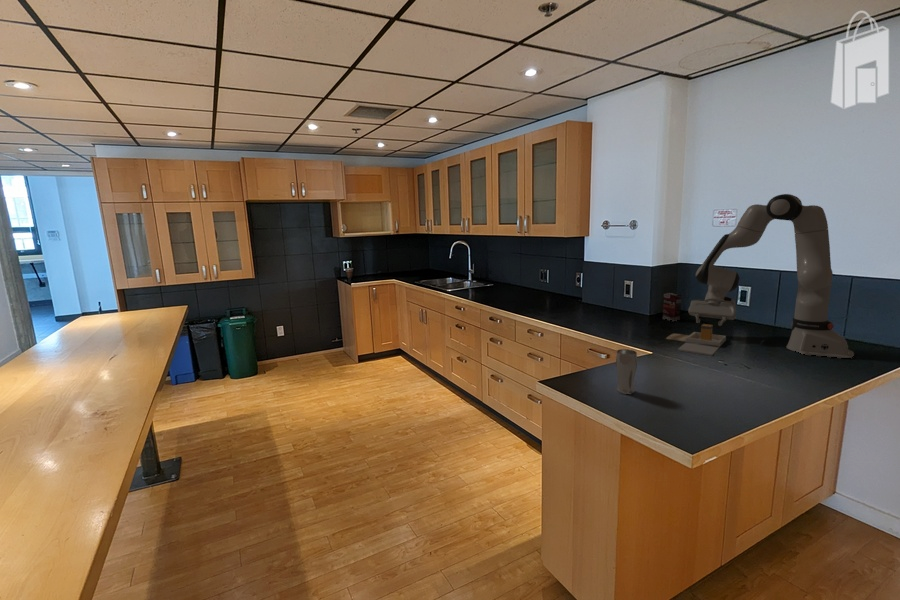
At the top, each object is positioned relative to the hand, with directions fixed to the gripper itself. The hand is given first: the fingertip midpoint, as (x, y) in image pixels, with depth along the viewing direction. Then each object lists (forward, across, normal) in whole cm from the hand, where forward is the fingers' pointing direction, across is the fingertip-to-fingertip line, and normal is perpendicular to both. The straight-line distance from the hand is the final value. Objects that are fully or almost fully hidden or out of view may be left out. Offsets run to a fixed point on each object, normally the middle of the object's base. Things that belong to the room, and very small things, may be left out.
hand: (708, 323), depth 206 cm
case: (+14, 0, -1) cm, 14 cm away
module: (+8, 0, +3) cm, 9 cm away
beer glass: (+66, -8, -54) cm, 86 cm away
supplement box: (-19, -27, +32) cm, 46 cm away
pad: (+9, -12, +4) cm, 15 cm away
